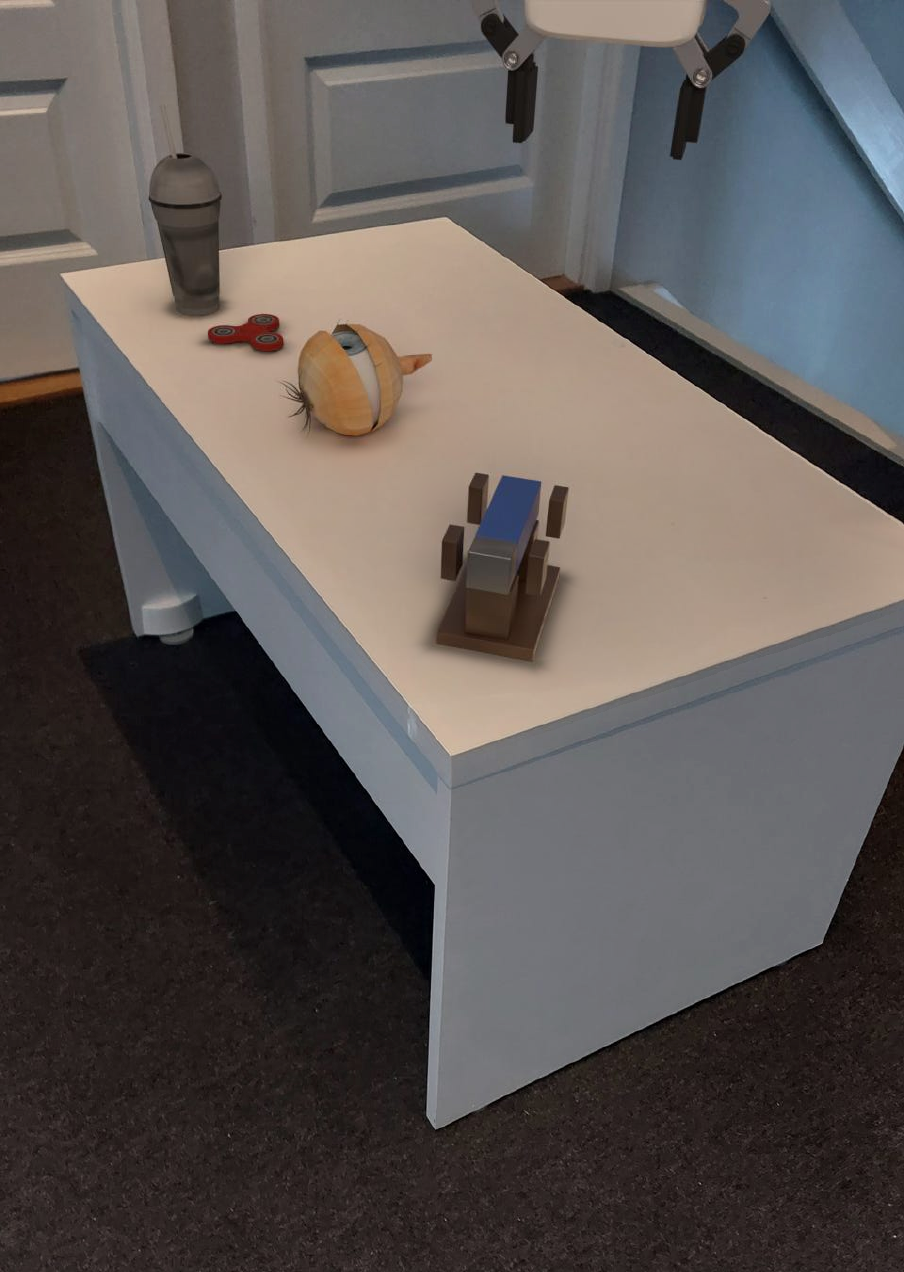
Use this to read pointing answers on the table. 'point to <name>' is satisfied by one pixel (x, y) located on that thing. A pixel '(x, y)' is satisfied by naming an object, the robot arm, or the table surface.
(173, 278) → the beverage cup
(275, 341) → the fidget spinner
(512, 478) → the blue eraser block
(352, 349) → the sculpture
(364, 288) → the table surface
